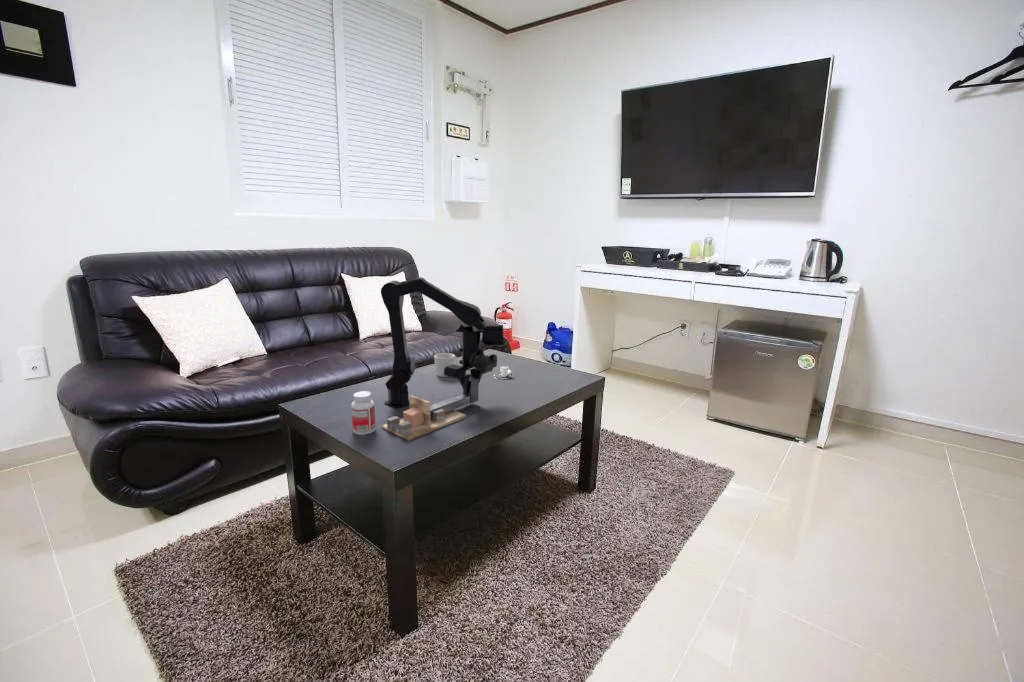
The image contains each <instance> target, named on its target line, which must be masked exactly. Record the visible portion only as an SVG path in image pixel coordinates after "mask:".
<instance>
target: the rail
mask: <svg viewBox="0 0 1024 682" xmlns="http://www.w3.org/2000/svg"><path fill="white" fill-rule="evenodd" d="M408 398H409V400H410V404H409V409H410V408H412V407H416V408H418V409H421V410H423V413H424V414H425V421H424V423H423V424H421V425H419V426H417V427H415V428H412V427H411V422H408V421H406V422H404V417H401V418H400V417H399V416H396V415H394V416H392V417H389V418H387V419H386V423H384V424H383V425H381V429H383V430H385V431H388V432H390V433H392V434H393V435H396V436H398V437H400V438H402V439H404V440H407V441H408V442H409V441H411V440H414V439H416V438H418V437H421V436H424V435H426V434H428V433H431V432H434V431H436V430H438V429H441V428H443V427H445V426H449V425H451V424H453V423H456V422H458V421H460V420H463V419H465V418H467V414H465V413H462V412H460V411H457V410H456V409H454V410H451V411H449V412H446V413H445V410H443V409H438V410H436V411H433V418H430V405H431V401H429V400H426V399H424V398H421V397H419V396H416V395H414V394H411V395H408Z"/></svg>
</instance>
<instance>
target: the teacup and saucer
mask: <svg viewBox="0 0 1024 682" xmlns="http://www.w3.org/2000/svg"><path fill="white" fill-rule="evenodd" d="M500 373H501V374H500V377H501V378H507V377H508V376H510V375H509V374H512V370H511V369H509V366H506V365H503V366H500ZM494 376H495V374H494V375H493V377H494ZM506 376H507V377H506ZM494 378H495V379H497V378H496V377H494Z"/></svg>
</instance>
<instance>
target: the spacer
mask: <svg viewBox="0 0 1024 682" xmlns="http://www.w3.org/2000/svg"><path fill="white" fill-rule="evenodd" d="M402 414H403V415H402V417H403V418H404V422H406V421H408V422H411V427H412V428H415V427H417V426H419V425H421V424H423V423H424V415H423V410H421V409H418V408H416V407H412V408H410V407H409V409H406V410H404V411H402Z"/></svg>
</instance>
